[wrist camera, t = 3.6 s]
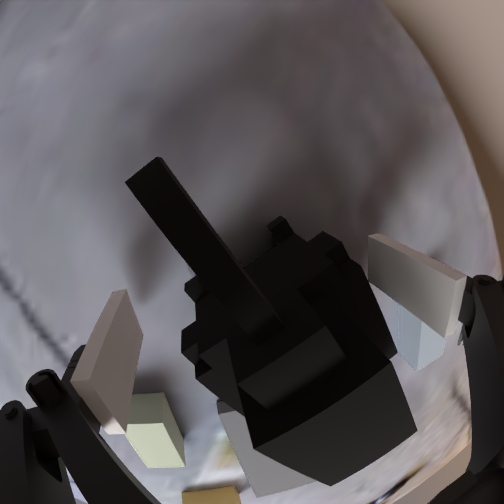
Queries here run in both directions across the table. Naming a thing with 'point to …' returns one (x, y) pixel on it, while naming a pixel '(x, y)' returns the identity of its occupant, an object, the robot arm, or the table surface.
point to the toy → (286, 339)
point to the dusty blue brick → (417, 340)
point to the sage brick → (155, 431)
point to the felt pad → (257, 458)
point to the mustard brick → (212, 496)
